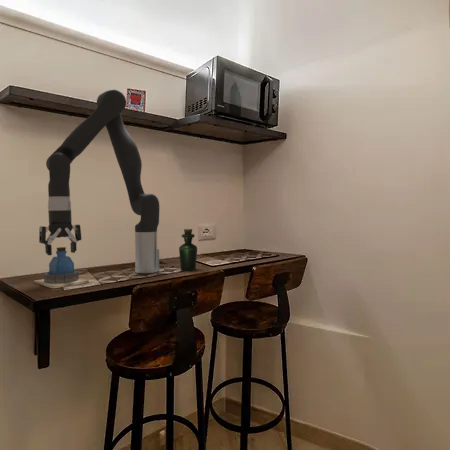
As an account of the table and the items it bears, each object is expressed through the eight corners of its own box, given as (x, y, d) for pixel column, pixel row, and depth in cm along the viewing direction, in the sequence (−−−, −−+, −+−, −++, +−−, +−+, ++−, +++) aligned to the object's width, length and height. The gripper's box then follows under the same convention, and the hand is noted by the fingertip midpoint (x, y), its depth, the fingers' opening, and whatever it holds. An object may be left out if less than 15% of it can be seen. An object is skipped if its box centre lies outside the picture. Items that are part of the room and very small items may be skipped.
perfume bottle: (74, 280, 130) (73, 247, 129) (57, 282, 125) (56, 249, 125) (66, 278, 134) (65, 246, 133) (49, 280, 129) (48, 247, 129)
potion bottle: (187, 271, 153) (187, 229, 152) (175, 269, 158) (175, 229, 157) (201, 269, 159) (201, 229, 158) (188, 267, 164) (188, 228, 163)
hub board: (69, 277, 139) (69, 267, 139) (88, 282, 130) (88, 272, 129) (34, 282, 130) (34, 272, 129) (52, 288, 120) (52, 277, 120)
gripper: (43, 209, 121) (45, 257, 122) (83, 209, 131) (85, 252, 132) (34, 209, 126) (36, 255, 127) (74, 209, 136) (75, 251, 137)
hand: (61, 253), depth 130 cm, fingers open, 8 cm apart
